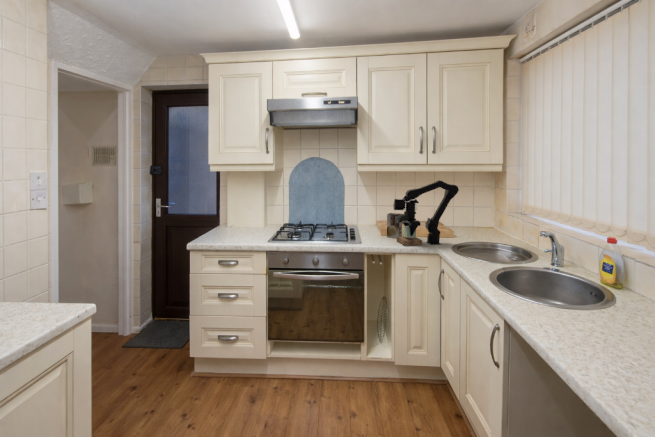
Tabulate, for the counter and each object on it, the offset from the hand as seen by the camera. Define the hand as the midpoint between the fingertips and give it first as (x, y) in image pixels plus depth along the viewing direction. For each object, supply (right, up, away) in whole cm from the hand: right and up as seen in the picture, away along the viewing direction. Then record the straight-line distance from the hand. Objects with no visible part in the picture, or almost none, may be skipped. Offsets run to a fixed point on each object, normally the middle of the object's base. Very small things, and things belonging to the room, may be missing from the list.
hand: (409, 234), depth 224 cm
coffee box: (-6, -3, +19) cm, 20 cm away
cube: (0, -1, 0) cm, 1 cm away
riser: (0, -5, +1) cm, 6 cm away
